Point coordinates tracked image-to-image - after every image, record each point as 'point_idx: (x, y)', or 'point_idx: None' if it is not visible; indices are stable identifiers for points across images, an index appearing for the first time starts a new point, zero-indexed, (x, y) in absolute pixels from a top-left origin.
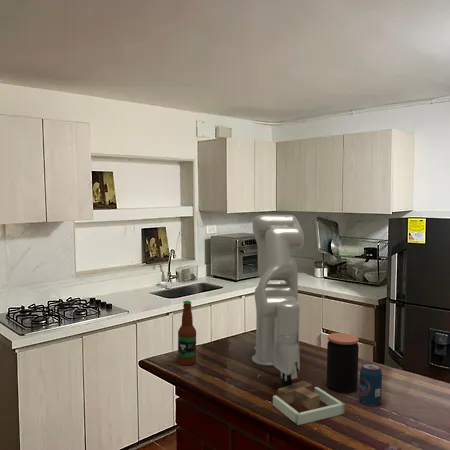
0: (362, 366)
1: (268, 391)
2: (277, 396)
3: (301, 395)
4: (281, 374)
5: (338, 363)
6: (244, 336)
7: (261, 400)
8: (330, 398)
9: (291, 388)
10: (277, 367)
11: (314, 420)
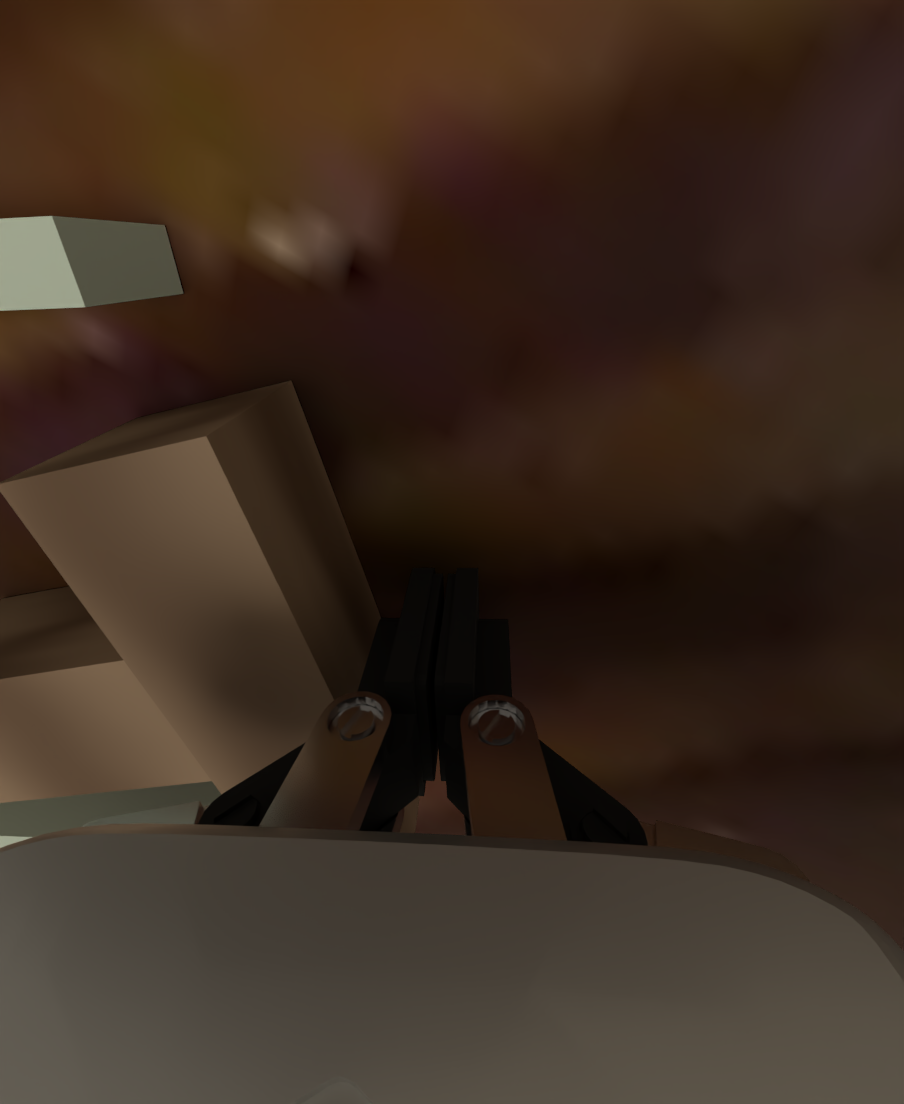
0: None
1: (628, 416)
2: (27, 306)
3: (34, 657)
4: (507, 763)
5: None
6: None
7: (377, 100)
8: (23, 830)
9: (195, 650)
10: (553, 902)
11: None
